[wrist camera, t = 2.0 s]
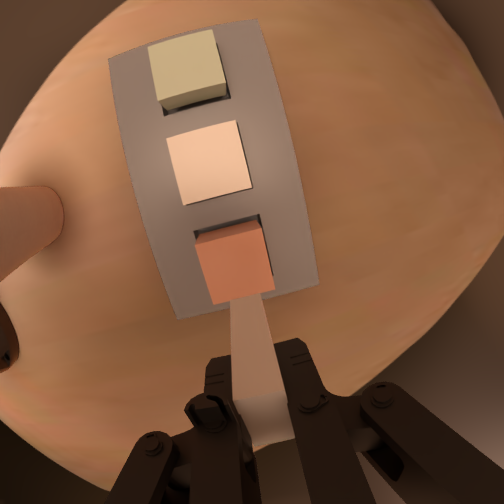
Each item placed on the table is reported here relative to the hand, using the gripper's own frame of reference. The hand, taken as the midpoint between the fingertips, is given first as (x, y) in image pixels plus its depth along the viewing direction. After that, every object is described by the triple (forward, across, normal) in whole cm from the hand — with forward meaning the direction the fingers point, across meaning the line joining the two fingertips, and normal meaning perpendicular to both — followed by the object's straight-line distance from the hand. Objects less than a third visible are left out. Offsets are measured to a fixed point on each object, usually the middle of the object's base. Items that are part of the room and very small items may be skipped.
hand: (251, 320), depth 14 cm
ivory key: (+11, -1, +8) cm, 14 cm away
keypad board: (+14, -1, +8) cm, 16 cm away
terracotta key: (+11, -1, 0) cm, 11 cm away
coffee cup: (+14, -21, +9) cm, 27 cm away
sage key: (+11, -1, +16) cm, 20 cm away
